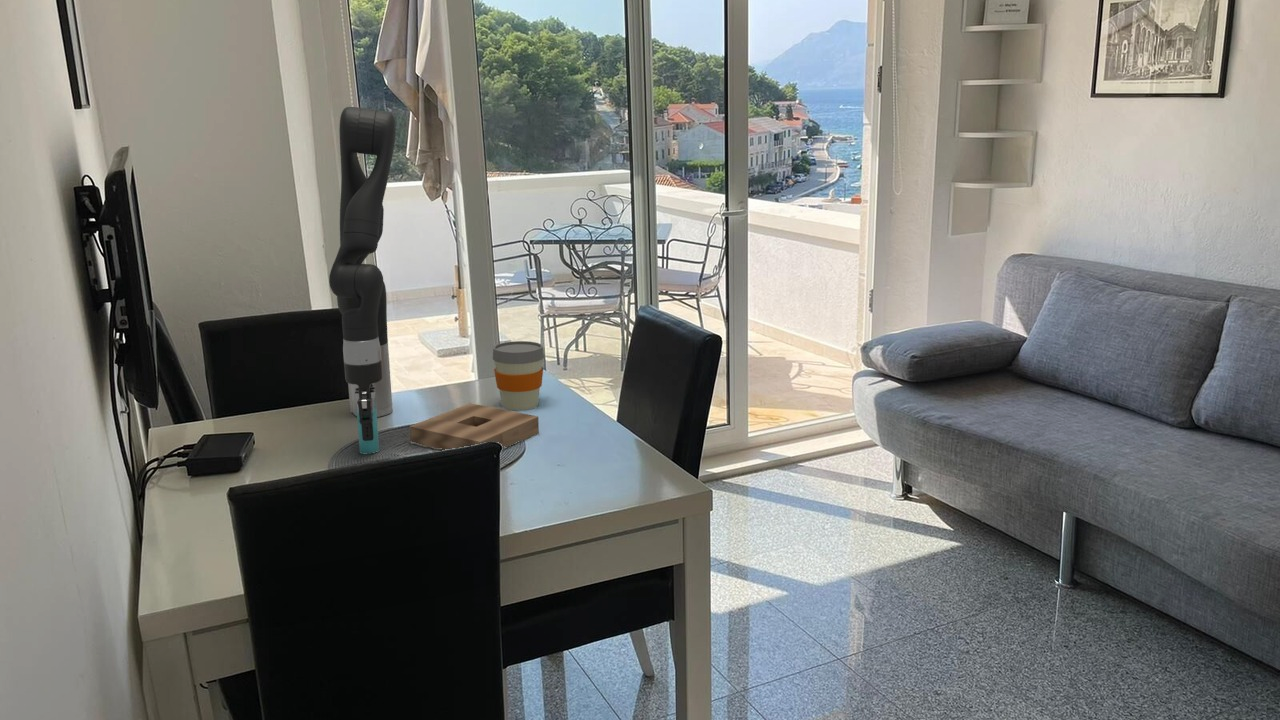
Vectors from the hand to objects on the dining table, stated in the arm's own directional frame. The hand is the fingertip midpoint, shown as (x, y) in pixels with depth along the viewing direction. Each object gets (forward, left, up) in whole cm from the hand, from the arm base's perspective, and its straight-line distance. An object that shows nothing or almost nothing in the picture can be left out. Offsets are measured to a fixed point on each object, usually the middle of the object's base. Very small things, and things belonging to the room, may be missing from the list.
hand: (368, 436), depth 197 cm
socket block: (+14, +18, -3) cm, 23 cm away
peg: (0, 0, -3) cm, 3 cm away
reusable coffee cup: (+7, +43, -4) cm, 44 cm away
